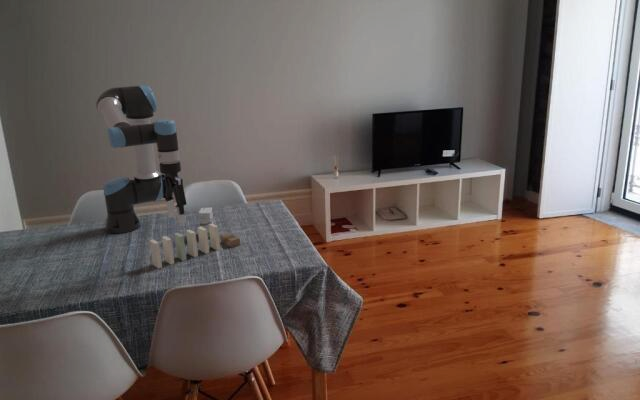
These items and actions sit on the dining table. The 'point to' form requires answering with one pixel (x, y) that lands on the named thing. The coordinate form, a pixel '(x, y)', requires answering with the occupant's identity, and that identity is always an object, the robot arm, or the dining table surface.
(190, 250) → the domino
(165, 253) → the domino
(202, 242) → the domino
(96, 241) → the dining table surface
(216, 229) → the domino
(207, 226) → the ink box
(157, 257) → the domino
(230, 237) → the end block
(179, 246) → the domino
